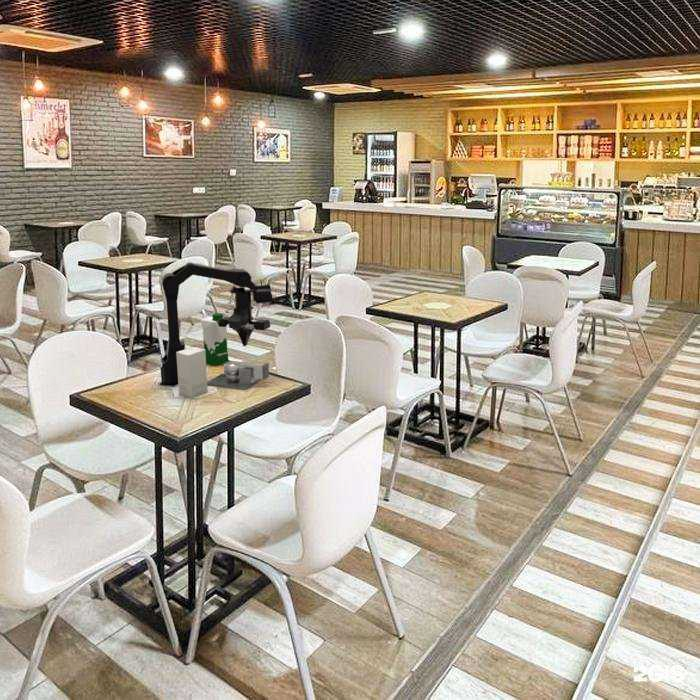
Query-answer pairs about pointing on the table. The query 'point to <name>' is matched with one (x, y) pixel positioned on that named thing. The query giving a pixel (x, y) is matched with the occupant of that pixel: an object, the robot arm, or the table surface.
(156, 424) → the table surface
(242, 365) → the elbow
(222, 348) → the milk carton
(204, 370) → the skincare box
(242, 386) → the base
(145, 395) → the table surface
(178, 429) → the table surface
